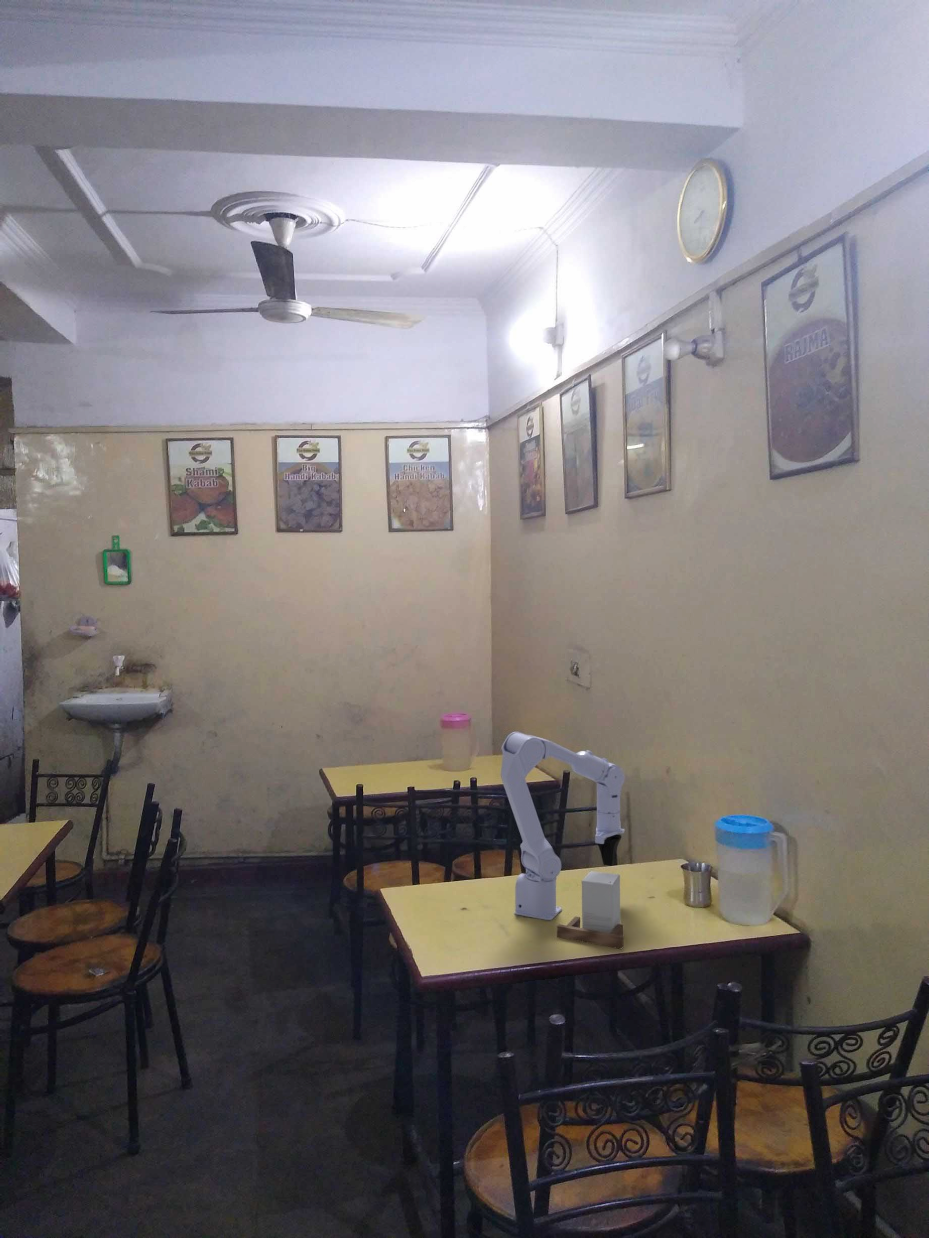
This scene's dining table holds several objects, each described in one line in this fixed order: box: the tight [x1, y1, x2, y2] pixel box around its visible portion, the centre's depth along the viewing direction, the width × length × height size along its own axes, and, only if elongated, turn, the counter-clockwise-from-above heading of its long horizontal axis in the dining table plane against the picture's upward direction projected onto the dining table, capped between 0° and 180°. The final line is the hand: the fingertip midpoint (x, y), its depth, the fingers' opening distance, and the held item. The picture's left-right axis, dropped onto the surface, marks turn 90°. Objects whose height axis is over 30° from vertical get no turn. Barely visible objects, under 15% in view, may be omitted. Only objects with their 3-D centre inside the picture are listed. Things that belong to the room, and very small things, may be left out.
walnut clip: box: [556, 916, 624, 949], centre depth 202 cm, size 15×7×2 cm, turn 63°
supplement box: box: [581, 870, 621, 933], centre depth 205 cm, size 7×7×13 cm
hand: (608, 864), depth 223 cm, fingers closed
